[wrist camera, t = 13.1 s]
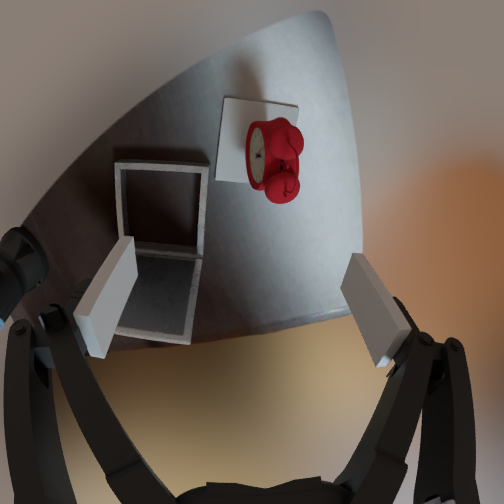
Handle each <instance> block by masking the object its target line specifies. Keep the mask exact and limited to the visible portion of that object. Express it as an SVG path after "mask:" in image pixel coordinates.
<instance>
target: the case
mask: <svg viewBox="0 0 504 504" xmlns="http://www.w3.org/2000/svg"><path fill="white" fill-rule="evenodd" d="M210 165H211V163H198V162H184V161H167V160H141V159H120V160H118V161H117V162H115V191H116V208H117V221H118V232H119V239H120V237H121V236H129V226H128V211H127V188H126V169H138V170H161V171H178V172H193V173H202V176H201V189H200V203H199V220H198V240H197V247H196V246H185V245H175V244H164V243H154V242H143V241H134V247H135V253H142V254H152V255H161V256H171V257H181V258H192V259H202V260H203V255H204V243H205V227H206V213H207V200H208V187H209V176H210Z"/></svg>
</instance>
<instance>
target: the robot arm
mask: <svg viewBox="0 0 504 504" xmlns="http://www.w3.org/2000/svg"><path fill="white" fill-rule="evenodd" d="M48 271H49V266H48V261H47V257H46V254H45V252H44V250H43V248H42V246H41V245H40V243H39V242H38V241H37V239H36V238H35V237H34V236H33V235H32V234H31V233H29V232H28V231H26V230H25V229H22V228H19V227H14V228H11V229H10V230H9V231H8V232H7V233H5V234H4V236H3V237H2V239H1V241H0V329H1V328H2V327H3V326H4V323H5V322H6V320H7V319H8V317H9V316H10V314H11V313H12V311H13V310H14V308H15V307H16V306H17V304H18V303H19V301H20V300H21V299H22V297H23V296H24V295H25V294H26V293H28V292H30V291H31V290H33V289H35V288H37V287H38V286H40V285H41V284H42V283H43V282H44V280H45V279H46V278H47V276H48ZM137 276H138V272H137V264H136V256H135V247H134V237H133V236H121V237H120V239H119V240H118V242H117V243H116V245H115V246H114V248H113V249H112V251H111V252H110V254H109V255H108V257H107V258H106V260H105V261H104V263H103V264H102V266H101V267H100V269H99V271H98V272H97V274H96V275H95V277H94V279H85V280H83V281H82V282H81V283H80V284H78V286H77V288H76V289H75V291H74V292H73V294H72V295H71V298H70V299H69V300H68V302H67V304H66V305H65V307H64V306H63V305H62V304H61V303H59V302H49V303H47V304H45V305H44V306H43V307H42V308H41V309H40V310H39V312H38V317H39V320H40V322H41V324H42V326H38V327H32V325H31V323H30V322H29V321H28V320H26V319H20V320H17V321H16V322H14V323H13V324H12V326H11V327H10V329H9V334H8V341H7V350H6V359H5V373H4V428H5V440H6V450H7V458H8V464H9V470H10V476H11V481H12V486H13V491H14V504H77V502H76V499H75V495H74V492H73V489H72V486H71V483H70V479H69V475H68V472H67V468H66V464H65V460H64V456H63V451H62V447H61V442H60V437H59V431H58V425H57V419H56V412H55V404H54V395H53V384H52V368H56V370H57V373H58V376H59V379H60V382H61V384H62V387H63V390H64V392H65V395H66V397H67V400H68V402H69V405H70V407H71V409H72V411H73V414H74V416H75V418H76V420H77V422H78V425H79V427H80V429H81V431H82V433H83V435H84V437H85V439H86V441H87V443H88V444H89V446H90V448H91V450H92V452H93V454H94V456H95V457H96V459H97V461H98V463H99V464H100V466H101V468H102V469H103V471H104V473H105V475H106V480H107V483H108V484H109V486H110V488H111V489H112V491H113V492H114V494H115V495H116V496H117V498H118V499H119V501H120V502H121V503H122V504H393V502H394V500H395V498H396V495H397V493H398V491H399V489H400V486H401V484H402V482H403V480H404V477H405V475H406V473H407V469H408V465H407V464H406V463H405V458H406V455H407V453H408V450H409V447H410V444H411V442H412V439H413V436H414V433H415V430H416V427H417V423H418V420H419V417H420V413H421V410H422V427H421V443H420V452H419V461H418V470H417V477H416V483H415V489H414V499H413V504H480V501H479V495H478V489H477V484H476V480H475V471H476V440H475V439H476V437H475V420H474V409H473V399H472V392H471V384H470V378H469V372H468V367H467V361H466V356H465V351H464V347H463V345H462V344H461V342H460V341H459V340H457V339H455V338H452V337H450V338H448V339H447V340H446V341H445V343H444V344H442V343H437V342H435V341H434V339H433V338H432V337H431V336H430V335H429V334H427V333H425V332H420V331H419V329H418V327H417V326H416V324H415V323H414V321H413V319H412V318H411V316H410V315H409V313H408V311H407V310H406V308H405V307H404V305H403V304H402V302H401V301H399V300H398V299H397V298H396V297H392V296H391V294H390V293H389V291H388V290H387V288H386V287H385V285H384V284H383V282H382V281H381V279H380V278H379V276H378V275H377V273H376V272H375V270H374V269H373V268H372V266H371V265H370V263H369V262H368V260H367V259H366V257H365V256H364V254H359V253H352V256H351V259H350V262H349V265H348V268H347V271H346V274H345V277H344V279H343V282H342V285H341V288H340V289H341V291H342V293H343V295H344V297H345V299H346V301H347V303H348V306H349V308H350V310H351V312H352V314H353V316H354V318H355V321H356V323H357V325H358V327H359V329H360V332H361V334H362V336H363V338H364V341H365V343H366V345H367V348H368V350H369V352H370V355H371V357H372V360H373V362H374V364H375V367H382V366H387V365H388V364H389V363H390V362H391V360H392V359H394V361H395V365H394V366H393V368H392V369H391V370H390V372H389V373H388V374H387V376H386V377H388V376H389V378H388V381H387V383H386V386H385V388H384V391H383V393H382V395H381V398H380V400H379V403H378V405H377V407H376V409H375V412H374V414H373V416H372V418H371V420H370V423H369V425H368V426H367V428H366V431H365V433H364V434H363V436H362V438H361V441H360V442H359V444H358V446H357V448H356V450H355V452H354V453H353V455H352V457H351V459H350V461H349V462H348V464H347V466H346V467H345V469H344V470H343V472H342V473H341V474H340V475H339V476H338V477H337V478H336V479H335V481H334V482H333V483H331V482H327V481H321V477H320V476H318V477H312V478H305V479H297V480H292V481H290V482H286V483H283V484H280V485H277V486H274V487H270V488H265V489H264V488H258V487H252V486H248V485H243V484H237V483H214V482H212V483H211V482H206V486H202V487H198V488H194V489H191V490H189V491H187V492H184V493H183V494H181V495H179V496H178V497H177V498H175V497H174V495H173V494H172V493H171V492H170V491H169V490H168V488H167V487H166V486H165V485H164V484H163V483H162V481H161V480H160V479H159V478H158V477H157V476H156V474H155V473H154V472H153V470H152V469H151V468H150V466H149V465H148V464H147V462H146V461H145V460H144V458H143V457H142V455H141V454H140V453H139V451H138V450H137V449H136V447H135V445H134V444H133V442H132V441H131V439H130V438H129V436H128V435H127V433H126V432H125V430H124V429H123V427H122V425H121V424H120V422H119V420H118V419H117V417H116V416H115V414H114V412H113V410H112V409H111V407H110V405H109V403H108V402H107V400H106V398H105V396H104V395H103V392H102V390H101V388H100V387H99V384H98V382H97V381H96V378H95V377H94V374H93V372H92V370H91V368H90V366H89V364H88V362H87V359H86V357H85V352H86V350H87V349H88V351H89V354H90V356H93V357H98V358H103V359H104V358H105V356H106V353H107V351H108V348H109V345H110V342H111V340H112V337H113V334H114V332H115V329H116V327H117V324H118V321H119V319H120V316H121V314H122V311H123V309H124V307H125V304H126V302H127V299H128V297H129V295H130V292H131V290H132V288H133V285H134V283H135V281H136V279H137Z"/></svg>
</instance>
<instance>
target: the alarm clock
mask: <svg viewBox="0 0 504 504" xmlns="http://www.w3.org/2000/svg"><path fill="white" fill-rule="evenodd" d="M303 147H304V139H303V136H302V134H301V132H300V130H299V129H298V128H297V127H295V126H293V125H291V123H290V122H289V121H288V120H287V119H286V118H284V117H278V118H275V119H273V120H270V121H255V122H252V123H251V124H250V126H249V129H248V132H247V137H246V145H245V161H246V170H247V175H248V179H249V182H250V184H251V186H252V188H253V189H255V190H258V191H260V190H265V194H266V197H267V198H268V199H269V201H271V202H273V203H276V204H284V203H288V202H290V201H292V200H293V199H294V198H295V197H296V196H297V195H298V192H299V189H300V183H299V180H298V175H299V157H298V156H299V155H300V154H301V152H302V150H303Z"/></svg>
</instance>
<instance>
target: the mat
mask: <svg viewBox="0 0 504 504" xmlns="http://www.w3.org/2000/svg"><path fill="white" fill-rule="evenodd" d="M298 112H299V108H295V107H290V106H284V105H278V104H272V103H265V102H258V101H251V100H242V99H233V98H225V100H224V107H223V115H222V123H221V132H220V140H219V149H218V159H217V168H216V178H215V180H221V181H231V182H240V183H249V184H250V182H249V179H248V175H247V170H246V161H245V145H246V137H247V132H248V129H249V126H250V124H251V123H252V122H255V121H270V120H273V119H275V118H278V117H284V118H286V119H287V120H288V121H289V122H290V123H291V125H293V126H295V127H296V124H297V118H298Z"/></svg>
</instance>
